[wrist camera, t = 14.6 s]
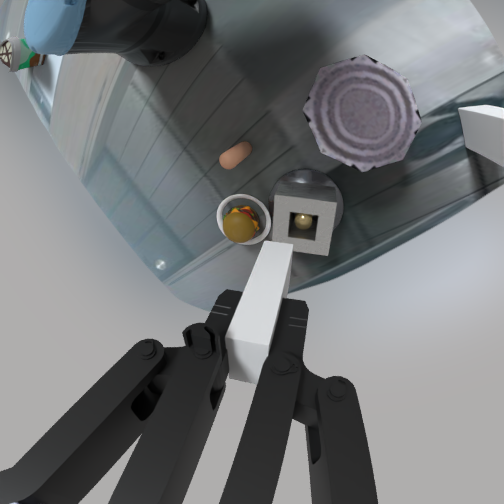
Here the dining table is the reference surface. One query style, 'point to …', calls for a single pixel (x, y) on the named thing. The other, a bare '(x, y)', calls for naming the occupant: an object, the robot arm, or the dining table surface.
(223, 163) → the sausage
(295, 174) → the hub
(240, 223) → the hamburger
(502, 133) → the milk
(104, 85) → the dining table surface
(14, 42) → the food container
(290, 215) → the collar
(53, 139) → the dining table surface
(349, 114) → the can
